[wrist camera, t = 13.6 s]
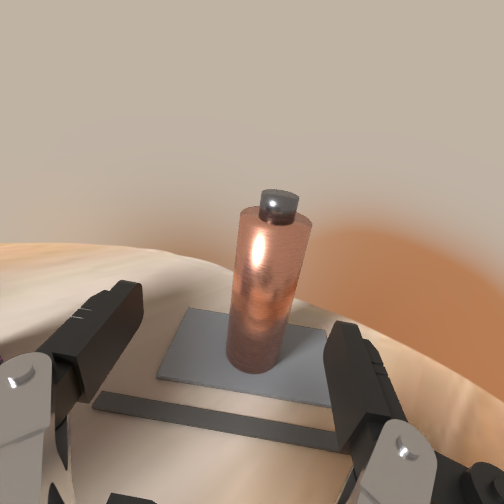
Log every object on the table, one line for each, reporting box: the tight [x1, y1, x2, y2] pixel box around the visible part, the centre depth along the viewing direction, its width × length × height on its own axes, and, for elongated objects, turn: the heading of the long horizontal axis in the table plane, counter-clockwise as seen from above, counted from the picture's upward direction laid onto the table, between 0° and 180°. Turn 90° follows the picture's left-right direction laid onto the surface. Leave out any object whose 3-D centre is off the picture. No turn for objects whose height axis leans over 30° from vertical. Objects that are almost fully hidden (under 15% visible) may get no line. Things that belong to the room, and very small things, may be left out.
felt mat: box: [156, 308, 332, 408], centre depth 29 cm, size 18×10×1 cm, turn 84°
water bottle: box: [226, 189, 312, 374], centre depth 25 cm, size 6×6×18 cm
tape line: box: [92, 391, 351, 455], centre depth 22 cm, size 24×1×1 cm, turn 84°
